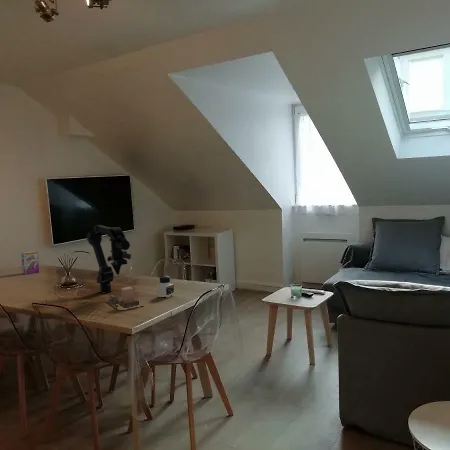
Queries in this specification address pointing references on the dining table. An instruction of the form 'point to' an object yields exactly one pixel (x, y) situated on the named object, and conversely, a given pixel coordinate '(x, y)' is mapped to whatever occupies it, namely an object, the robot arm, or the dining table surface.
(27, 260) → the candy bar box
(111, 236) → the robot arm
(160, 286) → the medicine bottle
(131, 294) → the terracotta block
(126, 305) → the walnut chute
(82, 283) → the dining table surface
